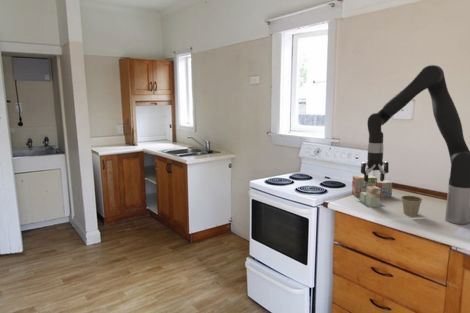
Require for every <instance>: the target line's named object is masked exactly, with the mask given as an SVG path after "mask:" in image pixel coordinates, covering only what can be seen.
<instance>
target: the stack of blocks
mask: <svg viewBox="0 0 470 313" xmlns="http://www.w3.org/2000/svg"><path fill="white" fill-rule="evenodd" d="M351 183H352V184H351V186H352V187H351V195H353V196H354V197H355V198H360V192H366V190H367V186H376V187H378V188H380V198H388V197H389V198H392V195H393V182H392V181H391V180H388V179H384V180H383V181H380V179H379V180H378V177H377V176H375V175H371V174H368V182H365V180H364V175H352V180H351Z"/></svg>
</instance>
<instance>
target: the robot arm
mask: <svg viewBox="0 0 470 313" xmlns="http://www.w3.org/2000/svg"><path fill="white" fill-rule="evenodd" d="M444 73H445V72H444V70H443V69H442V67H440V66H438V65H434V64H431V65H430V64H429V65H428V66H425V67H423V68H422V69H421V71H420V72H419V73H418V74H417V75H416V76H415V77H414V79H413V80H412V81H411V82H410V83H408V85H407V86H406V87H404V88H403V89H402V90H401V91H399V92H398V93H397V94H396V95H394V96H393V97H391V98H390V99H389V100H388V101H387V102H386V103H385V104H384V105H383V106H382V108H381V109H380V110H379V111H377V112H375V113H374V112H373V113H371V114H369V116H368V118H367V124H366V125H367V131H368V144H367V161H366V162H365V161H364V162H361V166H360V173H361V174H363V176H364V180H365V182H368V175H370V173H371V172H373V171H374V172H375V171H379V172H380V175H379V180H380V181H383V180H385V176H386V174H388V173H389V172H390V170H389V162H388V161H386V160H385V161H383V159H384V133H383V132H382V126H384V125H385V124H386V123H387V122H389V120H390V119H391V118H392V117H394V116H395V115H396V114H397V113H399V112H400V111H401V110H402V109H403V108H405V107H406V106H407V105H408V104H409V103H410V102H412V100H413V99H414V98H416V96H418V95H419V94H420V93H422V92H424V91H425V90H426V89H427V90H428V93H429V95H430V99H431V105H432V112H433V117H434V120H435V123H436V125H437V127H438V130H439V133H440V134H441V136H442V139H444V141H445V144H446V146H447V150H448V154H449V158H450V159H449V160H450V174H449V178H448V185H447V187H448V188H447V196H446V197H447V198H446V208H445V215H444V219H445V221H447V222H449V223H452V224H456V225H468V224H469V223H470V149H469V147H468V145H467V143H466V140H465V137H464V130H463V125H462V122H461V118H460V116H459V112H458V110H457V107H456V105H455V103H454V101H453V98H452V97H451V95H450V93H449V89H448V86H447V82H446V78H445V74H444ZM382 166H383V167H382Z"/></svg>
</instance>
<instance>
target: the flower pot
mask: <svg viewBox="0 0 470 313" xmlns="http://www.w3.org/2000/svg"><path fill="white" fill-rule="evenodd" d="M400 198H401V201H402V209H403V214H404V215H406V216H411V217H417V216H418V215H419V211H420V206H421V203H422V202H423V198H421V197H419V196H415V195H403V196H401V197H400Z"/></svg>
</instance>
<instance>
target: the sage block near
mask: <svg viewBox="0 0 470 313" xmlns="http://www.w3.org/2000/svg"><path fill="white" fill-rule="evenodd" d="M380 198H381V197H380ZM380 198H370V197H368V196H366V205H368V206H369V207H371V208H380V207H379V203H381V202H380Z"/></svg>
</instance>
